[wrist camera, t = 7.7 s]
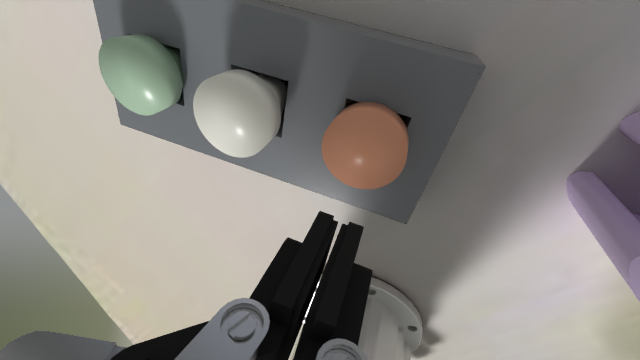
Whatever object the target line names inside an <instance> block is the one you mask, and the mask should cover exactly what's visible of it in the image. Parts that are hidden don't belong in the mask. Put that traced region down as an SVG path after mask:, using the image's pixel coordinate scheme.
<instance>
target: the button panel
mask: <svg viewBox="0 0 640 360" xmlns="http://www.w3.org/2000/svg"><path fill="white" fill-rule="evenodd" d="M93 2H94V7H95V11H96V16H97V20H98V25H99V29H100V34H101V38H102V43H104V42H105V41H106V40H107V39H109V38H111V37H118V36H126V35H133V34H144V35H147V36H150V37H152V38H154V39H155V40H157V41H158V42H160V43H161V44H162V45H168V46H172V47H175V48H178V49H180V58H181V70H182V82H183V88H182V93H181V96H180V99H179V100H178V102H177V103H176V104H175V105H173V106H171V107H169V108H167V109H165V110H162V111H160V112H158V113H155V114H153V115H147V116H145V115H140V114H137V113H134V112H132V111H130V110H129V109H127V108H126V107H125V106H123V105H122V104H121V103H120V102H119V101H118V100H117V99H116V98H115V101H116V105H117V110H118V114H119V118H120V123H121V125H124V126H127V127H130V128H133V129H136V130H138V131H141V132H144V133H147V134H150V135H153V136H156V137H158V138H161V139H164V140H167V141H170V142H173V143H176V144H178V145H181V146H184V147H187V148H190V149H193V150H196V151H199V152H201V153H204V154H207V155H210V156H213V157H216V158H219V159H221V160H224V161H227V162H230V163H233V164H236V165H239V166H241V167H244V168H247V169H250V170H253V171H256V172H259V173H261V174H264V175H267V176H270V177H273V178H276V179H279V180H281V181H284V182H287V183H290V184H293V185H296V186H299V187H302V188H304V189H307V190H310V191H313V192H316V193H319V194H322V195H324V196H327V197H330V198H333V199H336V200H339V201H342V202H344V203H347V204H350V205H353V206H356V207H359V208H362V209H364V210H367V211H370V212H373V213H376V214H379V215H382V216H384V217H387V218H390V219H393V220H396V221H399V222H402V223H405V224H407V222H408V220H409V218H410V216H411V214H412V212H413V210H414V208H415V206H416V204H417V202H418V200H419V198H420V196H421V194H422V192H423V190H424V188H425V186H426V184H427V182H428V180H429V178H430V176H431V174H432V172H433V170H434V168H435V166H436V164H437V162H438V160H439V158H440V156H441V154H442V152H443V150H444V148H445V146H446V144H447V142H448V140H449V138H450V136H451V134H452V132H453V130H454V128H455V126H456V124H457V122H458V120H459V118H460V116H461V114H462V112H463V110H464V108H465V106H466V104H467V102H468V100H469V98H470V96H471V94H472V92H473V90H474V88H475V86H476V84H477V82H478V80H479V78H480V76H481V74H482V72H483V70H484V68H485V65H484V64H483V63H482V62H481V61H480V59H479V58H478V57H477V56H476V55H472V54H468V53H465V52H461V51H457V50H453V49H449V48H445V47H441V46H437V45H434V44H430V43H426V42H422V41H418V40H414V39H410V38H406V37H402V36H399V35H395V34H391V33H387V32H383V31H379V30H375V29H371V28H367V27H364V26H360V25H356V24H352V23H348V22H344V21H340V20H336V19H333V18H329V17H325V16H321V15H317V14H313V13H309V12H305V11H301V10H298V9H294V8H290V7H286V6H282V5H278V4H274V3H270V2H266V1H263V0H93ZM235 69H239V70H245V71H248V72H251V73H253V74H255V71H256V72H259V73H263V74H266V75H270V76H273V77H276V78H280V79H283V80H286V81H289V82H288V90H287V98H286V106H285V114H284V117H283V116H281V124H280V128H279V131H278V133H277V135H276V136H275V137H274V138H273V139H272V140H271V141H270V142H269V143H268V144H267V145H266V146H265V147H264V148H263V149H262V150H261V151H260V152H258V153H257V154H255V155H253V156H250V157H245V158H239V157H233V156H230V155H227V154H225V153H223V152H221V151H220V150H218V149H217V148H215V147H214V146H213V145H212V144H211V143H210V142H209V141H208V140H207V139H206V138H205V136H204V135H203V134H202V132H201V130H200V129H199V127H198V124H197V122H196V119H195V116H194V110H193V100H194V95H195V92H196V90H197V88H198V87H199V85H200V84H201V83H202V82H203V81H204V80H206V79H208V78H210V77H213V76H215V75H218V74H221V73H223V72H226V71H229V70H235ZM353 100H354V101H357V102H375V103H379V104H382V105H385V106H387V107H388V108H390V109H392V110H393V111H394V112H396V113H398V114H401V115H405V116H408V117H407V119H406V122H405V126H406V128H407V131H408V137H409V145H408V153H407V160H406V163H405V166H404V168H403V170H402V172H401V173H400V175H399V176H398V177H397V178H396V179H395V180H394V181H392V182H391V183H389V184H387V185H385V186H383V187H380V188H375V189H359V188H354V187H351V186H349V185H346V184H345V183H343V182H341V181H340V180H338V179H337V178H336V177H335V176H334V175H333V174H332V173H331V172H330V171H329V169H328V168H327V166H326V164H325V162H324V160H323V156H322V139H323V136H324V133H325V131H326V130H327V128H328V127H329V125H330V124H331V123H332V121H333V120H334V119H335V117H336V116H337V115H338V114H339V113H340V112H341V111H342V110H343V109H345V108H346V107H348V106H350V105H352V102H353Z"/></svg>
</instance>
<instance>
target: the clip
mask: <svg viewBox="0 0 640 360" xmlns="http://www.w3.org/2000/svg"><path fill="white" fill-rule="evenodd" d="M619 127H620V130H621V131H622V132H623V133H624V134H625V135H626V136H628V137H629V138H630V139H632V140H633V141H635V142H636V143H638V144H639V145H640V111H638V112H635V113H633V114H631V115H629V116H627V117H625V118H624V119H623V120H622V121H621V123H620V126H619ZM567 193H568V197H569V200H570V202H571V204H572V205H573V207H574V208H575V210H576V211H577V212H578V214H579V215H580V217H581V218H582V220H583V221H584V223H585V224H586V225H587V227H588V228H589V230H590V231H591V233H592V234H593V235H594V237H595V238H596V240H597V241H598V243H599V244H600V246H601V247H602V248H603V250H604V251H605V253H606V254H607V256H608V257H609V258H610V260H611V261H612V263H613V264H614V266H615V267H616V268H617V270H618V271H619V273H620V274H621V276H622V277H623V279H624V280H625V281H626V283H627V284H628V286H629V287H630V289H631V290H632V291H633V293H634V294H635V296H636V297H637V298H638V300H639V301H640V215H639V214H632V213H631V212H630V211H629V210H628V209H627V208H626V207H625V206H624V205H623V204H622V203H621V202H620V200H619V199H618V198H617V197H616V196H615V195H614V194H613V193H612V192H611V191H610V190H609V189H608V188H607V187H606V186H605V185H604V183H603V182H602V181H601V180H600V179H599V178H598V177H597V176H596V175H595V174H594V173H592V172H575V173H573V174H571V175H570V176H569V177H568V179H567Z"/></svg>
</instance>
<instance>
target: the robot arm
mask: <svg viewBox="0 0 640 360" xmlns="http://www.w3.org/2000/svg"><path fill="white" fill-rule="evenodd" d="M333 218H334V216H332V215H330V214H327V213H324V212H321V211H320V212H319V213H318V215H317V217H316V219H315V221H314V222H313V224H312V226H311V228H310V230H309V232H308V234H307V236H306V237H305V239H304V241H303V243H301V242H298V241H296V240H293V239H291V238H287V239H286V240H285V241H284V243H283V245H282V246H281V248H280V250H279V251H278V253H277V254H276V256H275V258H274V259H273V261H272V262H271V264H270V266H269V267H268V269H267V271H266V272H265V274H264V275H263V277H262V279H261V280H260V282H259V284H258V285H257V287H256V288H255V290H254V292H253V293H252V295H251V296H250V298H249V299H248V298H241V299H235V300H233V301H231V302H229V303H227V304H226V305H225V306H223V307H222V308H221V309H220V310H219V311H218V312H217V314H216V315H215V316H214V317H213V318H212V319H211V320H210V321H207V322H204V323H201V324H198V325H195V326H192V327H188V328H185V329H182V330H179V331H176V332H173V333H170V334H166V335H163V336H160V337H157V338H154V339H151V340H148V341H144V342H141V343H138V344H135V345H132V346H130V347H128V348H126V347H120V346H117V344H116V343H115V342H109V341H103V340H97V339H92V338H86V337H79V336H74V335H68V334H62V333H56V332H50V331H35V332H32V333H28V334H25V335H22V336H20V337H19V338H17V339H15V340H13V341H11V342H10V343H9V344H7V345H6V346H5V347H4V348H3V349H1V350H0V360H288V358H289V356H290V353H291V351H292V348H293V346H294V343H295V341H296V338H297V336H298V333H299V331H300V328H301V325H302V323H304V326H303V329H302V331H301V334H300V337H299V339H298V342H297V345H296V347H295V350H294V353H293V355H292V358H291V360H410V354H411V353H413V352H414V351H415V350H416V349H417V348H418V347H419V345H420V343H421V340H422V327H423V326H422V320H421V317H420V315H419V313H418V310H417V309H416V308H415V306H414V305H413V304H412V302H411V301H410V300H409V299H408V298H407V297H406V296H404V295H403V294H402V293H401V292H399V291H398V290H397V289H395V288H394V287H392V286H391V285H389V284H387V283H385V282H383V281H381V280H379V279H376V278H373V277H372V270H371V269H368V268H366V267H363V266H360V265H358V264H355V263H354V260H355V256H356V253H357V249H358V246H359V242H360V239H361V235H362V232H363V228H364V227H362V226H360V225H357V224H354V223H352V222H349V224H348V225H345V224H342V226H341V229H340V231H339V234H338V236H337V239H336V241H335V244H334V246H333V249H332V252H331V254H330V257H329V259H328V262H327V264H326V267H325V269H324V265H325V262H326V259H327V256H328V253H329V249H330V246H331V243H332V240H333V237H334V234H335V230H336V227H337V224H338V222H337V221H334V220H333ZM323 269H324V272H323ZM322 272H323V274H322Z"/></svg>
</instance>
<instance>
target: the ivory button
mask: <svg viewBox="0 0 640 360" xmlns="http://www.w3.org/2000/svg"><path fill="white" fill-rule="evenodd" d="M286 98H287V89H286V87H285V85H284V84H283V82H282V81H281V80H280V79H279V78H276V77H273V76H270V75H266V74H263V73H261V74H258V75H255V74H253V73H251V72H248V71H245V70H239V69H235V70H229V71H226V72H223V73H221V74H218V75H215V76H213V77H210V78H208V79H206V80H204V81H203V82H202V83H201V84H200V85H199V87H198V88H197V90H196V92H195V95H194V100H193V110H194V116H195V119H196V122H197V124H198V127H199V129H200V130H201V132H202V134H203V135H204V136H205V138H206V139H207V140H208V141H209V142H210V143H211V144H212V145H213V146H214V147H215V148H217V149H218V150H220V151H221V152H223V153H225V154H227V155H230V156H233V157H239V158H245V157H250V156H253V155H255V154H257V153H258V152H260V151H261V150H262V149H263V148H264V147H265V146H266V145H267V144H268V143H269V142H270V141H271V140H272V139H273V138H274V137H275V136H276V135H277V133H278V131H279V128H280V124H281V114H282V113H283V112H284V111H285V106H286Z"/></svg>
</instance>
